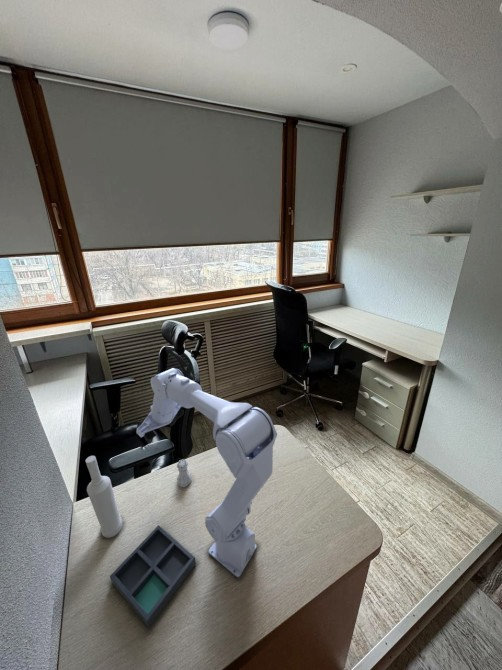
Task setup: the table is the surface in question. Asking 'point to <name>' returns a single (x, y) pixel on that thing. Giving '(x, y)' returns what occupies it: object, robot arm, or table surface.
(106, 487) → the bottle
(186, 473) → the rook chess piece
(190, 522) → the table surface
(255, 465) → the robot arm
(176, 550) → the tray
